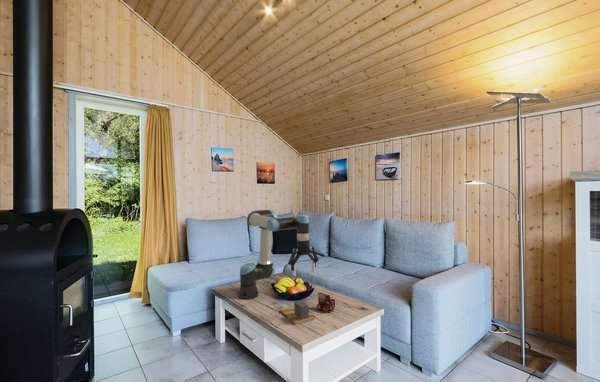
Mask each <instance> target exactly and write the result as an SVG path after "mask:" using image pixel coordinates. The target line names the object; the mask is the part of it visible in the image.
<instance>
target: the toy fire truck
mask: <svg viewBox="0 0 600 382" xmlns="http://www.w3.org/2000/svg"><path fill="white" fill-rule="evenodd" d="M317 297H318V298H317V299H318V303H317V304H316V309H317V310H318V311H322V312H323V313H329V311H333V310H334V308H335V307H334V306H335V305H334V301H333V298H331V294H327V293H323V292H320V291H319V292H318V293H317Z"/></svg>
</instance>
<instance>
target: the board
mask: <svg viewBox="0 0 600 382" xmlns="http://www.w3.org/2000/svg"><path fill="white" fill-rule="evenodd" d="M280 312H281V313H282V315H284V316H285V317H286V318H287V319H288V320H290V322H292V323H293V324H294V325H295V326H297V325H301V324H304V323H308V322H312V321H315V320H316V318H315V316H313V315H312V314H311V313H310V312H309V319H306V320H302V321H301V320H300V319H299V318H298V317H296V316H295V309H294V305H293V306H288V307H284V308H280Z"/></svg>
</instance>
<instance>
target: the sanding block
mask: <svg viewBox="0 0 600 382" xmlns="http://www.w3.org/2000/svg"><path fill="white" fill-rule="evenodd" d="M293 303H294V305H293V306H294V309H295V316H296V317H298V318H299V319H300V320H301V321H302V320H306V319H309V313H310V312H309V311H310V310H309V309H310V308H309V305H308V304H307V303H306V302H304V301H303V300H298V301H294V302H293Z"/></svg>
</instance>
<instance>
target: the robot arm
mask: <svg viewBox="0 0 600 382" xmlns="http://www.w3.org/2000/svg"><path fill="white" fill-rule="evenodd" d="M246 222H247V223H248V225H250V227H258V228H259V229H260V236H259V237H260V238H259V239H260V241H259V259H258V260H257V262H256V263H255V262H254V263H253V262H249V263H248V262H247V263H245V264H243V265H241V266H240V268H239V278H240V279H239V282H240V283H239V284H240V286H239V291H238V294H237V297H238V298H239V299H241V300H252V299H256V298H257V297H259V294H260V293H259V289H258V287H257V281H261V280H265V279H270V278H272V277H274V275H275V272H276V267H275V263H274V262H273V260H272V241H273V239H272V238H273V232H276V231H277V232H279V231H285V230H292V229H293V230H296V245H297V248H294V247H293V248H292V252H291V255H290V257H289V260H288V262H287V264H288V265H289V266H290V268H291V269H290V270H291V272H292V276H293V277H296V275H297V273H296V272H297V271H296V269H297V268H296V263H297V262H298V260H299V258H300V257H301V256H308V257H309V258H310V260H311V273H313V274H315V273H316V267H317V263H318V261H319V257H318V256H317V253H316V251H315V247H314V246H310V219H309V215H308V214H298V215H296V216H288V217H282V218H281V217H279V218H278V215H277V212H276V211H275V210H273V209H262V210H261V209H260V210H253V211H251V212H249V214H248V215H247V217H246ZM310 251H311V252H310Z"/></svg>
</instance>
